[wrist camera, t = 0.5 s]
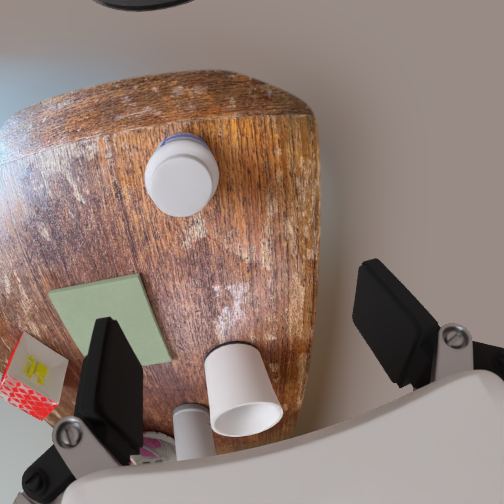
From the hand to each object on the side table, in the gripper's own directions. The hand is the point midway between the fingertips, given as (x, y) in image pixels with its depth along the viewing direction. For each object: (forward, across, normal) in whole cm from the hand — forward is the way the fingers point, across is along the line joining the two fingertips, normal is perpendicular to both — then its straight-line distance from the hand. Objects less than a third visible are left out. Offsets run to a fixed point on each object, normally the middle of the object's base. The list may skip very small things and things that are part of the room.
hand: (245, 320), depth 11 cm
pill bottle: (+20, +2, -2) cm, 20 cm away
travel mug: (+19, +10, +38) cm, 44 cm away
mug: (+20, +1, +27) cm, 33 cm away
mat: (+20, +15, +16) cm, 29 cm away
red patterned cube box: (+20, +30, +20) cm, 41 cm away
